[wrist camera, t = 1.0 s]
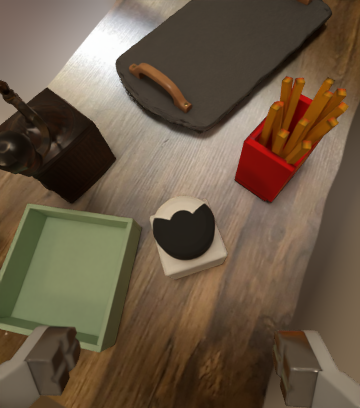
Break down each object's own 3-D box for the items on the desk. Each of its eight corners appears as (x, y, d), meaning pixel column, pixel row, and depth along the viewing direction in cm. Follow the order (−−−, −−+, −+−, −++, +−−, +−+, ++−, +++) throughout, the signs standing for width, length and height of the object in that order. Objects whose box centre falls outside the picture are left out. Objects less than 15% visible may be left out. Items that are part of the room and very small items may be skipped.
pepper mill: (29, 171, 41) (-92, 85, 24) (78, 126, 43) (-3, 20, 27) (89, 228, 37) (-10, 172, 20) (140, 175, 39) (90, 84, 22)
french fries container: (309, 162, 37) (365, 89, 24) (272, 207, 35) (312, 155, 22) (268, 138, 39) (300, 58, 26) (232, 179, 37) (246, 116, 24)
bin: (114, 344, 31) (100, 352, 27) (8, 320, 33) (-21, 323, 29) (141, 227, 36) (133, 218, 32) (47, 213, 38) (27, 203, 34)
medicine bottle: (224, 263, 33) (233, 247, 22) (173, 280, 33) (156, 272, 22) (206, 215, 36) (206, 178, 24) (159, 230, 35) (137, 200, 24)
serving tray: (241, -25, 53) (246, -64, 47) (338, 19, 46) (358, -21, 40) (105, 83, 46) (91, 53, 41) (194, 155, 39) (192, 130, 33)
